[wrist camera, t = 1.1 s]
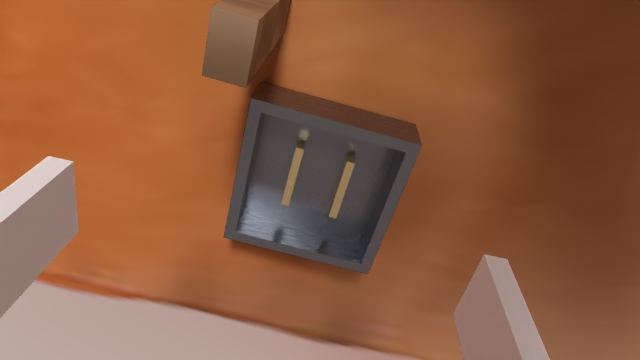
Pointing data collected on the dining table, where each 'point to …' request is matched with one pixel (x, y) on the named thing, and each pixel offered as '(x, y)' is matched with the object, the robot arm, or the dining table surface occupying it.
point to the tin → (318, 177)
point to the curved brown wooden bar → (242, 38)
